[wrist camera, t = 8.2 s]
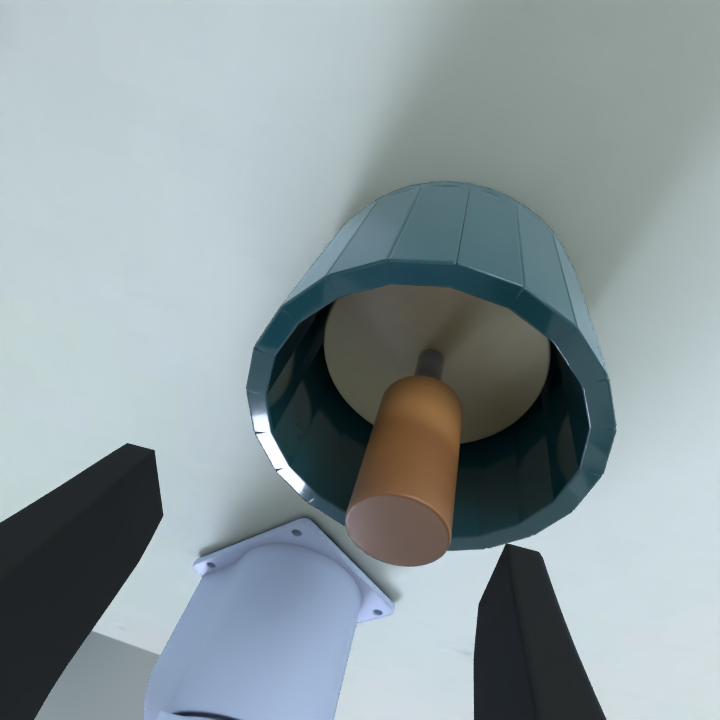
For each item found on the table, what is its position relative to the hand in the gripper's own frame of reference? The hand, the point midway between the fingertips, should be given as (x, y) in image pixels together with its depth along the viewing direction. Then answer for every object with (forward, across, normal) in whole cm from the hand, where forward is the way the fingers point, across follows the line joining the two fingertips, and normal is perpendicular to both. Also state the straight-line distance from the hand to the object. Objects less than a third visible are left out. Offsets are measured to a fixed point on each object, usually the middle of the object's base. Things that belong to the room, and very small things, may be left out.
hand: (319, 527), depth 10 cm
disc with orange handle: (+10, -2, 0) cm, 10 cm away
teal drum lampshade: (+10, -2, 0) cm, 11 cm away
